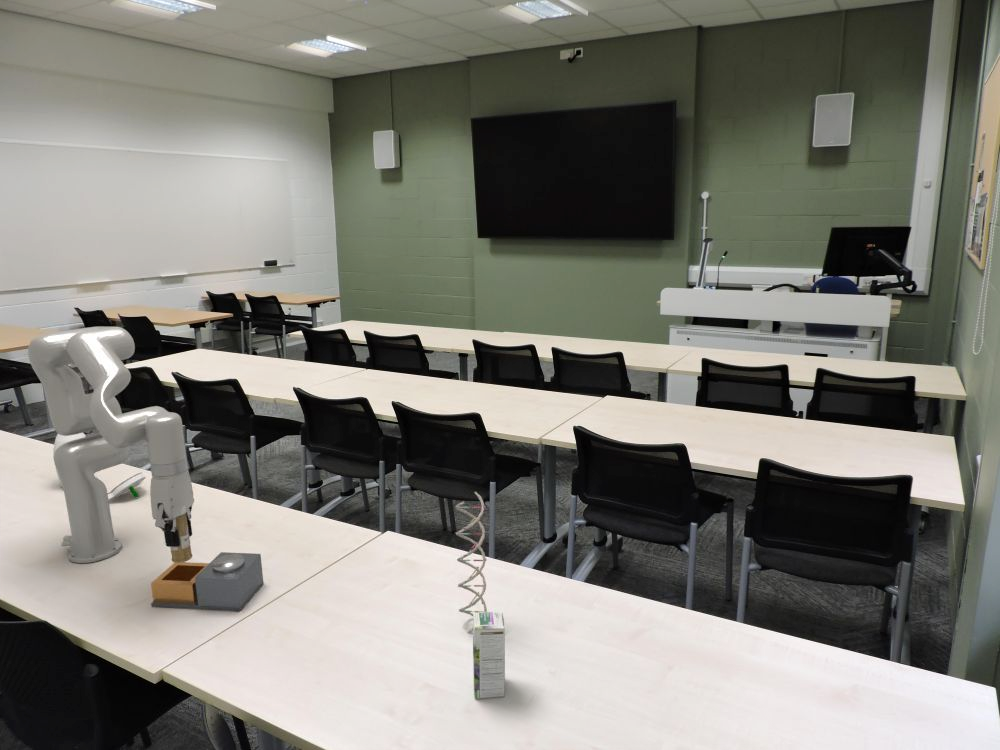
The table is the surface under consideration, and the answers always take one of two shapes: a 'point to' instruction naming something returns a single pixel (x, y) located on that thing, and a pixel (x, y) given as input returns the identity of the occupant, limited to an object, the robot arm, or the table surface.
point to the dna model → (474, 560)
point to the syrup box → (488, 654)
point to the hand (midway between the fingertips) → (179, 540)
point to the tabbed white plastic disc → (127, 486)
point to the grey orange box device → (210, 583)
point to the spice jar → (181, 539)
